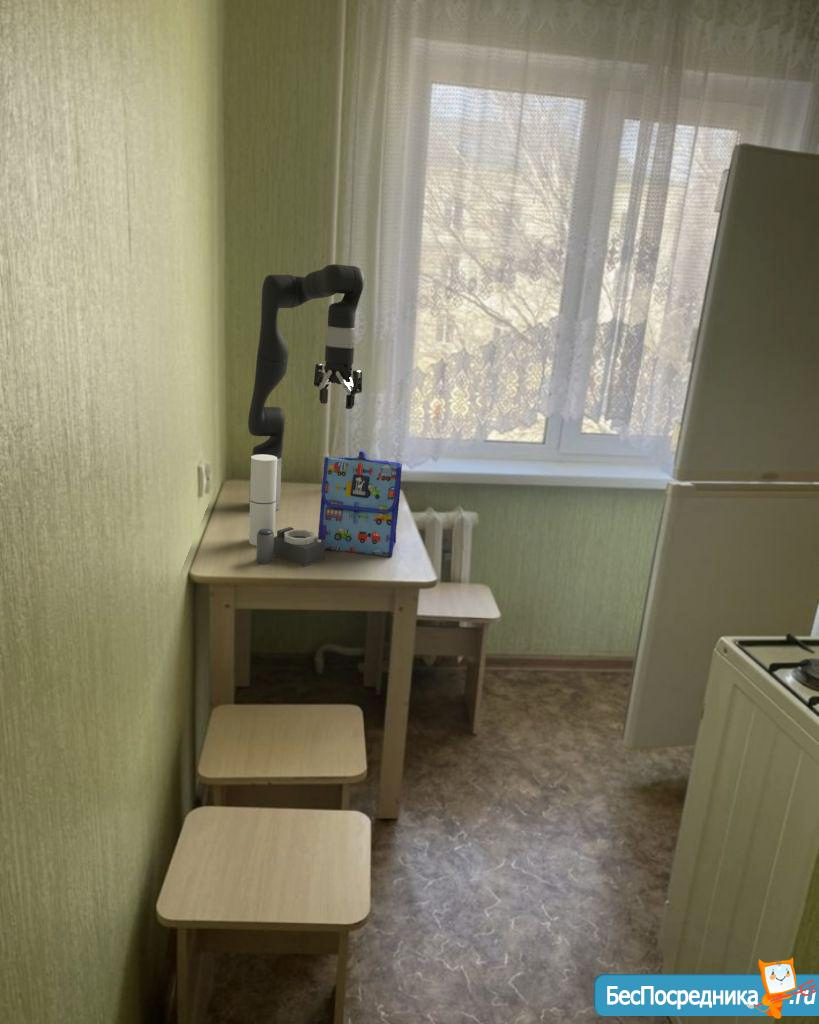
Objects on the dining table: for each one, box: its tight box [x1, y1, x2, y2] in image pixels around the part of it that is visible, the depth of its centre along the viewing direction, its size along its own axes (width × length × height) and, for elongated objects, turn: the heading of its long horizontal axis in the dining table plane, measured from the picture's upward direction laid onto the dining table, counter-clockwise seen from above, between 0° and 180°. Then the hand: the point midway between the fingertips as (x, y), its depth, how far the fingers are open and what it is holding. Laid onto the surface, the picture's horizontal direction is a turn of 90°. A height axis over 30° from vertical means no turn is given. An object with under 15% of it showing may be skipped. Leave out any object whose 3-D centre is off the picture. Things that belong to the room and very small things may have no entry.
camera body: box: [273, 526, 326, 567], centre depth 209 cm, size 12×8×7 cm, turn 56°
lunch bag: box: [317, 449, 403, 557], centre depth 218 cm, size 22×14×29 cm, turn 87°
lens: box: [255, 529, 274, 565], centre depth 204 cm, size 4×4×9 cm
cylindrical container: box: [248, 454, 277, 547], centre depth 215 cm, size 7×7×25 cm
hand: (336, 406), depth 204 cm, fingers open, 8 cm apart
